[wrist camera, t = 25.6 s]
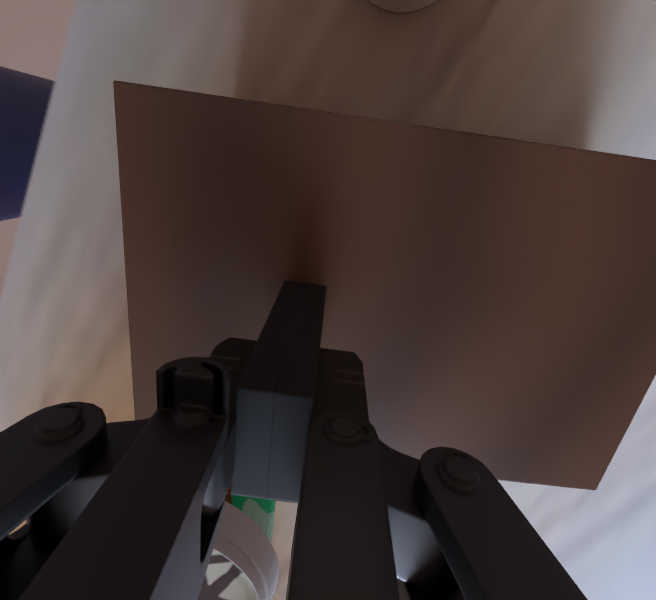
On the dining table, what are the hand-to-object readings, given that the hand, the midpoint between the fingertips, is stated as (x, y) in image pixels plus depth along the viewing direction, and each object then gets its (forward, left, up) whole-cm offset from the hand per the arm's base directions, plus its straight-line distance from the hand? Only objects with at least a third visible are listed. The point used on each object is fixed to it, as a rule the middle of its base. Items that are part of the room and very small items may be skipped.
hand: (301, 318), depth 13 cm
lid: (+4, 0, -1) cm, 4 cm away
